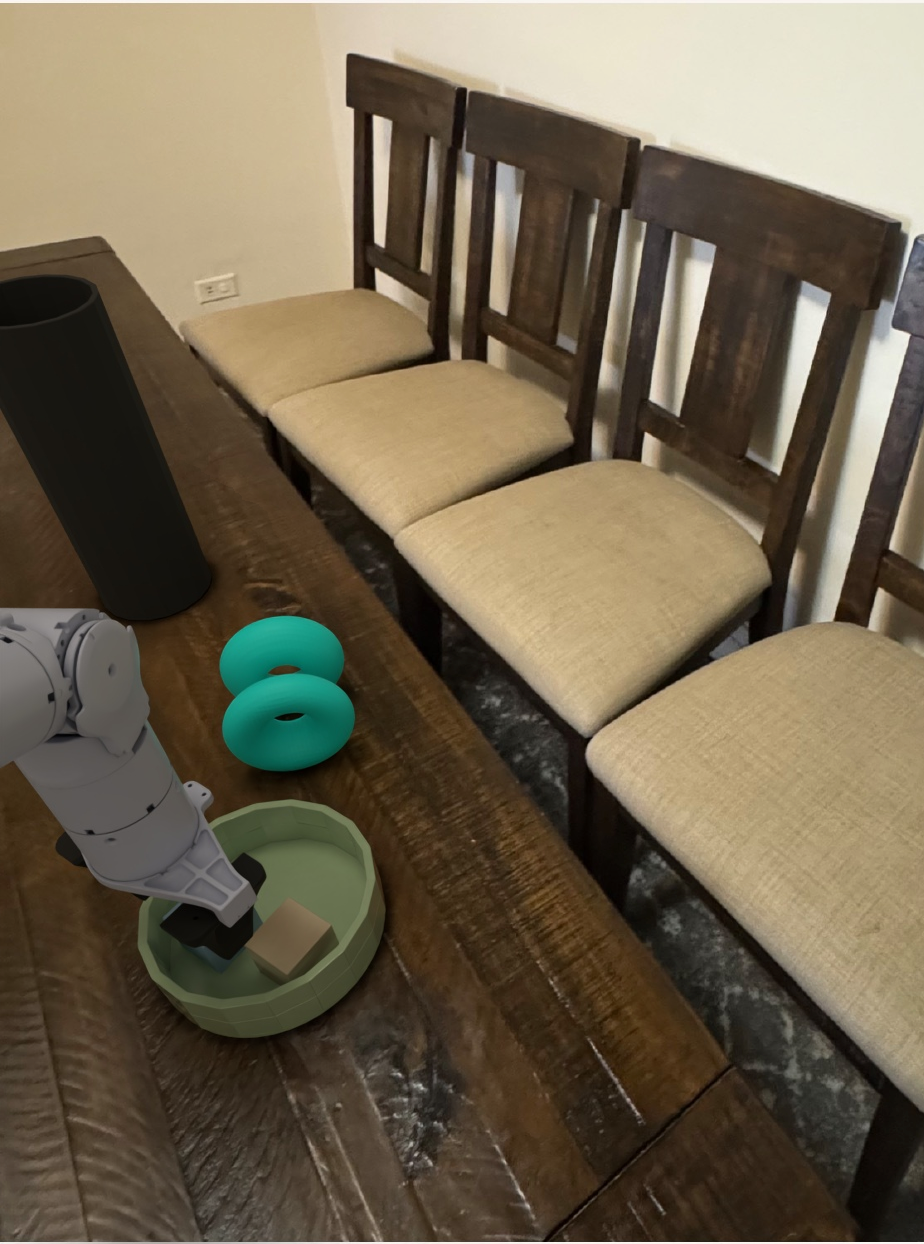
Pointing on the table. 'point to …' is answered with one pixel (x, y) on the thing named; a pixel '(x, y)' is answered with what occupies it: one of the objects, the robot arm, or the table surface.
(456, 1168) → the table surface
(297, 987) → the green shallow bowl
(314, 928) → the brown block
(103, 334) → the vase
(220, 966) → the blue block
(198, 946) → the robot arm
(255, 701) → the donuts
